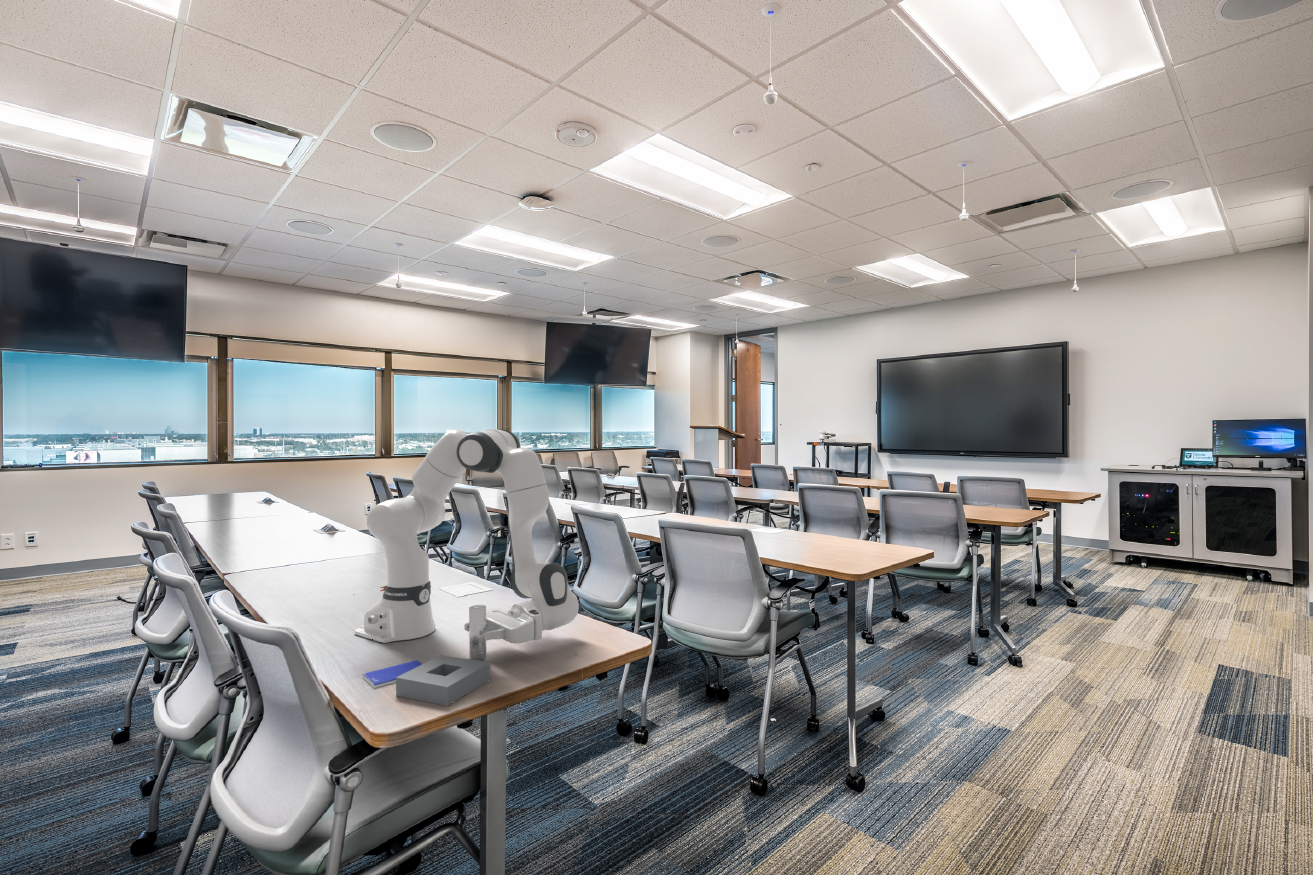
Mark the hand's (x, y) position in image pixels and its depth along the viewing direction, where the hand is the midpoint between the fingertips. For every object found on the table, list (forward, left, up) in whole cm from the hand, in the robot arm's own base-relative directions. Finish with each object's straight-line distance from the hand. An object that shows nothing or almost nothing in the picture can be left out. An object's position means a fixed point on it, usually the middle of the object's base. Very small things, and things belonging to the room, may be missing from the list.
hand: (474, 632), depth 143 cm
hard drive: (-13, -12, -9) cm, 20 cm away
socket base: (+2, -13, -8) cm, 16 cm away
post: (0, +1, -8) cm, 8 cm away
